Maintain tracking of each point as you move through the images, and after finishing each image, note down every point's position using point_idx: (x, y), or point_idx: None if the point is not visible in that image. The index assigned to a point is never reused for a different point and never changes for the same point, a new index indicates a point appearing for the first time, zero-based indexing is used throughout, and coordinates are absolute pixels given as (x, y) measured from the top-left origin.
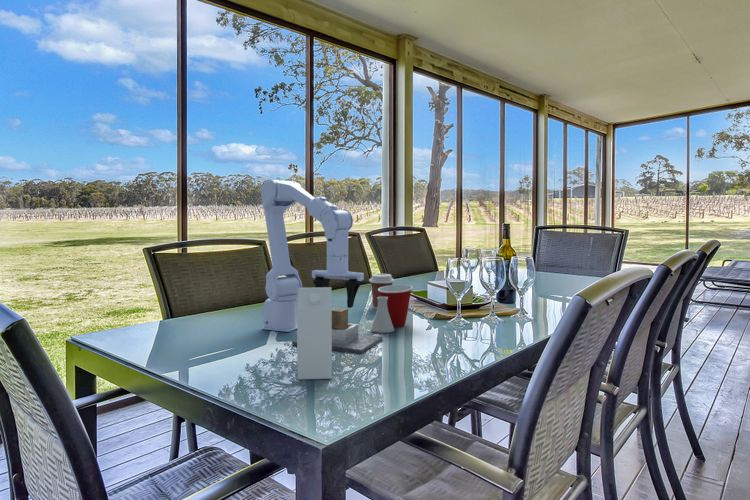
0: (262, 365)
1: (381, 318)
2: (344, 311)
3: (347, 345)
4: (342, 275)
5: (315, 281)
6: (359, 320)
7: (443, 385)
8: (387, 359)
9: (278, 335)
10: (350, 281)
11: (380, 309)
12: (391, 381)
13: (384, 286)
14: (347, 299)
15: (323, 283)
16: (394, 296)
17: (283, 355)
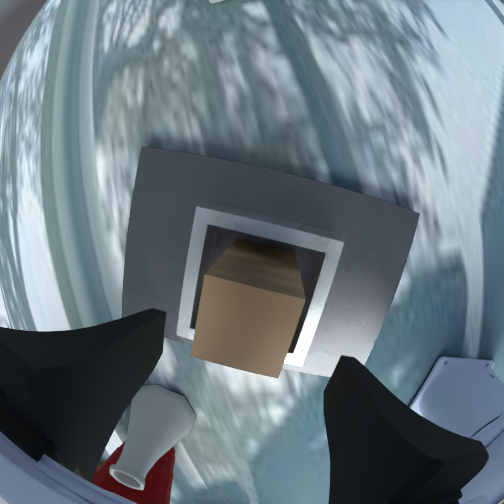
0: (405, 15)
1: (142, 420)
2: (198, 313)
3: (199, 188)
4: (30, 487)
5: (476, 450)
6: (254, 477)
7: (24, 38)
8: (81, 122)
9: (462, 320)
10: (12, 400)
11: (139, 446)
12: (84, 6)
13: None
14: (137, 327)
15: (381, 482)
16: (107, 483)
17: (399, 91)
